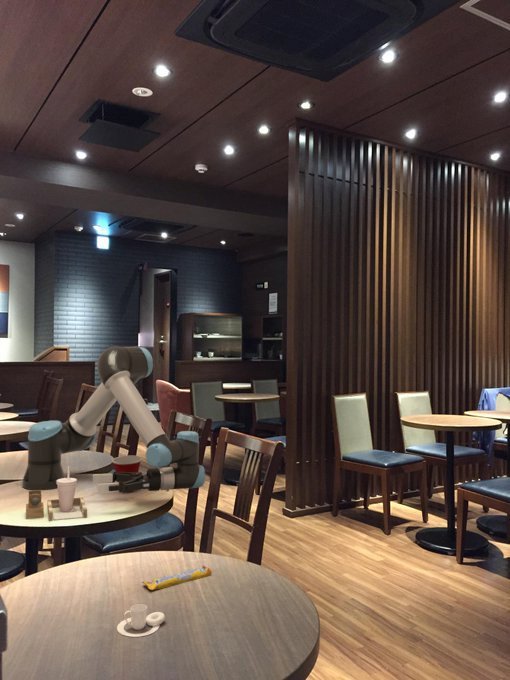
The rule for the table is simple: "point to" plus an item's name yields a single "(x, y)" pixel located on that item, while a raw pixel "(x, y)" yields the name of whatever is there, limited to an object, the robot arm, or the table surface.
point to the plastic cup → (127, 464)
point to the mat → (67, 515)
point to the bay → (55, 504)
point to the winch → (34, 505)
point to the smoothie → (66, 492)
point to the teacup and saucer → (141, 620)
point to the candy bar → (177, 578)
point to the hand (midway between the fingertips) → (94, 483)
